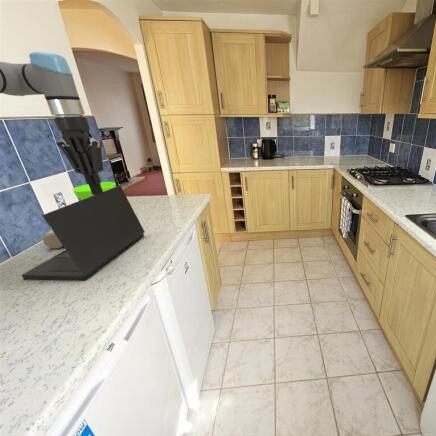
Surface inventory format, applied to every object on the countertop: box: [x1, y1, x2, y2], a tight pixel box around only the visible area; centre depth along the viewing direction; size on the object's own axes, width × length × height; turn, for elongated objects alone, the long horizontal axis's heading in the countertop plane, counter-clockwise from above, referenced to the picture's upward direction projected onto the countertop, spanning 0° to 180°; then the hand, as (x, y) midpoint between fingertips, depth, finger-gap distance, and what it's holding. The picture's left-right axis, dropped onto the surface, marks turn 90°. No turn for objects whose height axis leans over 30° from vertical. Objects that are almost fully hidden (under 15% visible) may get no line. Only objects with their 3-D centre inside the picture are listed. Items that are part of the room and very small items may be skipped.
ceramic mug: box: [42, 228, 64, 250], centre depth 97 cm, size 11×8×8 cm
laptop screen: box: [41, 185, 146, 276], centre depth 85 cm, size 21×30×1 cm
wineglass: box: [72, 181, 117, 200], centre depth 115 cm, size 16×16×18 cm
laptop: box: [21, 233, 145, 282], centre depth 90 cm, size 21×30×2 cm
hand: (97, 193), depth 80 cm, fingers closed
